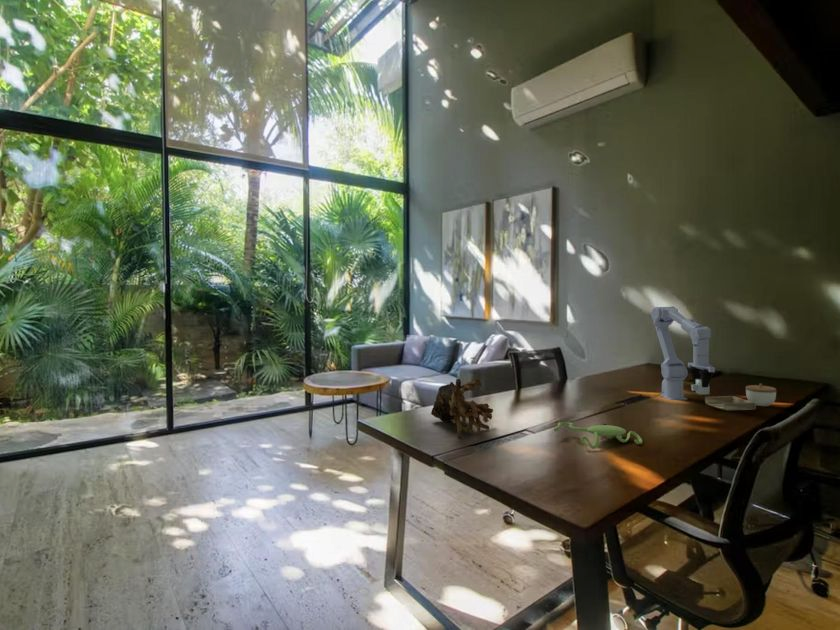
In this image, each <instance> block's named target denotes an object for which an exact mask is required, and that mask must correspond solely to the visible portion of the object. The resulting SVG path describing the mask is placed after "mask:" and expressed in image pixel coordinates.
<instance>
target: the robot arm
mask: <svg viewBox="0 0 840 630" xmlns="http://www.w3.org/2000/svg"><path fill="white" fill-rule="evenodd" d="M650 315H651V316H650V317H651V319H652V321H653V322H652V323H653V325H654V328H655V330H656V334H657V339H658V340H659V341H658V342H659V346H660V348H661V351H662V354H663V355H662V356H663V358H664V361H663V362H662V363H661V364H660V368H661V369H660V370H661V372H660V373H661V376H662V377H663V380H662V382H661V394H659V397H662V398H664V399H668V400H670V401H678V400H679V401H680V400H681V401H682V400H685V401H686V400H688V398H687V397H685V396H684V381H685V380H686V378H687V376H688V372H689V374H690V375H691V379H692V382H693V383H692V384H696V379H699V378H701V381H702V387H708V386H709V387H710V382H711V379H712V377H713V375H715V373H716V372H715V370H716V367H714V366H712V364H710V360H709V358H710V352H709V351H710V340H711V339H712V338H713V331H712V329H711V328H710V327H709V326H702V324H701V323H698V322H696V321H695V319H694V318H687V317H685V316H684V315H683V314H682V313H680V312H679V309H678V308H676V307H675V306H654V307H653V308H652V311H651V314H650ZM674 321H675V322H676V323H678V324H679V325H680V328H681V329H682V330H683V331H684V332H686V333H687V334H688V335H689V336H690V337H689V338H690V339H691V344H692V347H693V348H692V349H693V351H692V352H693V353H692V356H693V357H692V361H693V362H692V361H691V362H687V367H688V368H687V367H686V366H685V363H684V361H683V360H681V359H680V358H678V355H677V353H676V350H675V347H674V346H675V345H674V344H673V339H672V336H671V332H670V329H669V327H670V326H671V325H672V324H673V323H674Z"/></svg>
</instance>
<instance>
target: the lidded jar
mask: <svg viewBox="0 0 840 630" xmlns="http://www.w3.org/2000/svg"><path fill="white" fill-rule="evenodd" d="M758 384H759V385H758ZM758 384H754V385H753V384H751V385H746V386H745V394H746V395H745V396H746V398H747V399H746V400H748V401H751V402H754V403H756V407H757V406H759V407H770V406H771V405H773V403H774V402H775V401H776V397H777V388H775V387H774V386H768V385H763V383H758Z"/></svg>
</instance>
